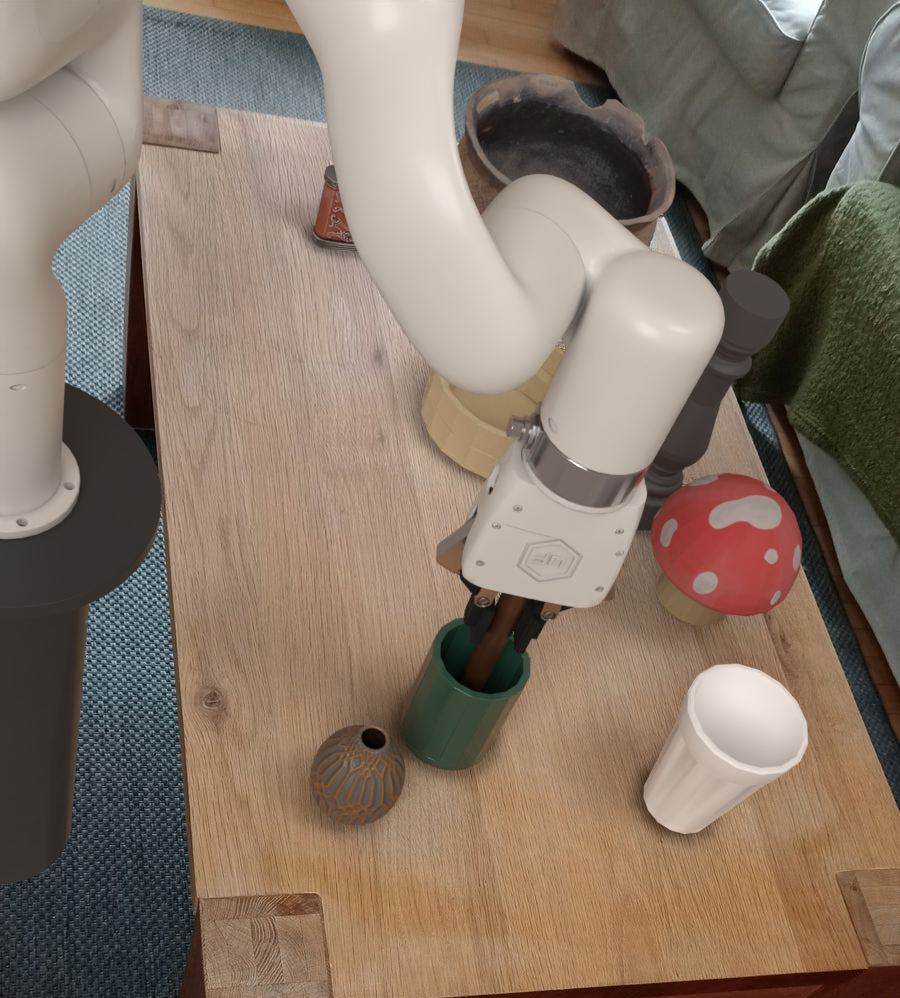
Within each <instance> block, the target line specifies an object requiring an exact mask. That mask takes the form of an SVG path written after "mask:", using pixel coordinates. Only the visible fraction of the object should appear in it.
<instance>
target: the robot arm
mask: <svg viewBox="0 0 900 998" xmlns="http://www.w3.org/2000/svg"><path fill="white" fill-rule="evenodd" d="M284 2H285V3H286V5H287V7H288V9H289V10H290V13H291V14H292V16H293V17H294V19H295V21H296V23H297V24H298V27H299V28H300V30H301V32H302V34H303V35H304V37H305V39H306V41H307V43H308V45H309V47H310V48H311V51H312V52H313V54H314V56H315V59H316V61H317V64H318V67H319V70H320V73H321V78H322V85H323V94H324V96H323V97H324V109H325V119H326V128H327V129H326V130H327V135H328V140H329V146H330V147H329V148H330V152H331V156H332V161H333V165H334V167H335V172H336V177H337V182H338V187H339V192H340V197H341V201H342V205H343V209H344V214H345V218H346V221H347V224H348V227H349V230H350V233H351V237H352V239H353V242H354V244H355V246H356V249H357V251H358V252H357V254H358V255H359V258H360V260H361V262H362V264H363V266H364V268H365V271H366V272H367V274H368V275H369V278H370V279H371V281H372V282H373V284H374V286H375V287H376V289H377V290H378V292H379V294H380V296H381V297H382V299H383V301H384V302H385V304H386V306H387V307H388V309H389V311H390V313H391V314H392V316H393V317H394V319H395V321H396V323H397V324H398V325H399V327H400V329H401V331H402V332H403V334H404V335H405V337H406V338H407V340H408V341H409V343H410V344H411V345H412V347H413V348H414V349H415V351H416V352H417V353H418V354H419V355H420V357H421V358H422V359H423V361H424V362H425V363H426V364H427V365H428V366H429V367H430V368H431V370H432V369H433V370H434V371H435V372H436V373H437V374H439V375H440V376H441V377H442V378H443V379H445V380H446V381H448V382H449V383H450V384H452V385H454V386H455V387H457V388H460V389H462V390H464V391H466V392H470V393H474V394H478V395H498V394H503V393H507V392H510V391H512V390H514V389H516V388H518V387H520V386H522V385H523V384H524V383H526V382H527V381H528V380H529V379H530V378H532V377H533V376H534V375H535V374H536V373H537V371H538V370H539V369H540V368H541V366H542V365H543V364H544V362H545V361H546V360H547V358H548V357H549V356H550V354H551V353H552V352H553V350H554V349H555V347H556V346H558V344H559V343H560V342H561V341H562V342H563V345H564V350H563V351H564V354H563V356H562V359H561V361H560V363H559V366H558V368H557V370H556V372H555V375H554V377H553V379H552V381H551V384H550V386H549V388H548V390H547V393H546V395H545V397H544V399H543V402H540V401H539V403H538V405H537V407H536V409H535V412H533V413H532V414H531V415H530V416H525V415H524V416H523V418H522V417H518V416H514V415H511V417H510V419H509V422H508V426H507V431H506V436H507V437H509V438H513V439H515V440H514V441H513V442H512V443H511V444H510V446H509V447H508V448H507V449H506V450H505V452H504V453H503V454H502V456H501V457H500V459H499V460H498V462H497V463H496V464H495V466H494V467H493V469H492V471H491V472H490V474H489V475H488V477H487V479H486V478H485V481H484V482H483V484H482V486H481V487H480V489H479V491H478V493H477V495H476V497H475V499H474V500H473V502H472V505H471V506H470V509H469V510H468V513H467V516H466V519H465V521H464V524H463V525H461V526H460V527H459V528H457V529H456V530H455V531H453V532H451V534H449V535H448V536H446V537H445V538H444V539H443V540H441V541H440V542H438V543H437V545H436V554H435V562H436V563H437V565H440V566H441V567H443V568H444V569H446V570H447V571H449V572H450V573H452V574H454V575H458V576H459V579H460V581H461V582H462V584H463V585H464V586H465V587H466V589H467V590H468V591H469V592H470V594H471V595H470V596H469V599H468V601H467V603H466V604H465V605H466V606H465V608H464V613H463V618H464V625H467V626H470V644H475V645H477V644H478V643H481V641H482V639H483V637H484V635H485V633H486V631H487V629H488V626H489V624H490V622H491V620H492V618H493V616H494V614H495V605H496V597H497V595H498V593H507V594H511V595H516V596H520V597H525V598H530V601H529V603H528V605H527V607H526V609H525V610H524V612H523V614H522V616H521V618H520V620H519V622H518V624H517V626H516V628H515V629H514V631H513V634H514V651H516V653H520V654H524V652H525V650H526V651H527V648H528V646H529V645H530V643H531V641H532V640H538V638H539V637H540V634H541V632H542V631H543V630H544V627H545V626H546V624H547V622H552V621H555V620H556V619H557V618H558V616H559V614H560V613H561V612H565V611H567V610H570V609H573V608H577V609H578V608H579V609H589V608H593V607H597V606H599V605H600V604H601V603H602V602H606V601H612V600H614V599H615V598H616V597H617V589H616V580H617V577H618V575H619V573H620V572H621V569H622V567H623V564H624V563H625V560H626V558H627V555H628V552H629V551H630V548H631V546H632V543H633V540H634V538H635V535H636V533H637V531H638V530H637V528H638V525H639V522H640V519H641V516H642V513H643V509H644V506H645V501H646V497H647V489H646V485H645V479H644V476H645V474H646V472H647V471H648V469H649V467H650V465H651V464H652V462H653V460H654V458H655V456H656V455H657V453H658V451H659V449H660V447H661V446H662V444H663V442H664V440H665V439H666V437H667V435H668V433H669V431H670V430H671V428H672V426H673V424H674V422H675V421H676V419H677V417H678V415H679V413H680V412H681V410H682V408H683V406H684V405H685V403H686V401H687V399H688V398H689V396H690V394H691V392H692V391H693V389H694V387H695V385H696V384H697V382H698V380H699V378H700V377H701V375H702V373H703V371H704V369H705V368H706V366H707V364H708V362H709V361H710V359H711V357H712V355H713V354H714V352H715V350H716V348H717V346H718V344H719V342H720V339H721V337H722V334H723V329H724V323H725V315H724V308H723V304H722V301H721V298H720V296H719V294H718V291H717V289H716V288H715V287H714V285H713V284H712V283H711V281H710V280H709V279H708V278H707V277H706V276H705V275H704V274H703V273H702V272H701V271H699V270H698V269H697V268H696V267H694V266H693V265H691V264H690V263H688V262H686V261H684V260H682V259H680V258H678V257H675V256H673V255H670V254H666V253H663V252H658V251H655V250H653V249H652V248H650V246H649V247H648V246H647V245H645V244H644V243H643V242H642V241H640V240H639V239H638V238H637V237H636V236H634V235H633V234H632V233H631V232H630V231H629V230H627V229H626V228H625V227H624V226H623V225H622V224H621V223H619V222H618V221H617V220H616V219H615V218H614V217H613V216H612V215H610V214H609V213H608V212H607V211H606V210H605V209H604V208H603V207H602V206H600V205H599V204H598V203H597V202H596V201H595V200H594V199H592V198H591V197H590V196H589V195H588V194H586V193H585V192H583V191H582V190H581V189H579V188H578V187H576V186H575V185H573V184H571V183H569V182H567V181H565V180H563V179H561V178H558V177H555V176H552V175H547V174H533V175H527V176H524V177H521V178H519V179H517V180H515V181H513V182H512V183H510V184H509V185H508V186H506V187H505V188H504V189H503V190H502V191H501V192H500V193H499V194H498V195H497V196H496V197H495V198H494V199H493V201H492V202H491V203H490V204H489V206H488V207H487V208H486V209H485V210H484V212H483V213H482V214H481V215H480V213H479V211H478V209H477V207H476V204H475V202H474V200H473V198H472V195H471V192H470V189H469V186H468V184H467V181H466V178H465V175H464V171H463V167H462V164H461V160H460V156H459V151H458V139H457V134H456V124H455V112H454V110H455V109H454V97H455V96H454V94H455V93H454V91H455V90H454V87H455V78H456V77H455V76H456V67H457V61H458V54H459V47H460V41H461V35H462V29H463V22H464V13H465V5H466V0H284ZM144 99H145V98H144V2H143V0H0V539H16V538H24V537H29V536H33V535H37V534H40V533H42V532H44V531H47V530H49V529H51V528H53V527H54V526H56V525H57V524H59V523H60V522H62V521H63V520H64V519H65V518H66V517H67V516H68V515H69V514H70V512H71V511H72V509H73V508H74V506H75V504H76V502H77V499H78V496H79V491H80V471H79V467H78V464H77V462H76V459H75V457H74V456H73V454H72V452H71V451H70V449H69V448H68V447H67V446H66V445H65V444H64V443H63V442H62V432H63V410H64V388H65V382H66V368H67V367H66V364H67V363H66V362H67V345H68V344H67V343H68V303H67V298H66V294H65V290H64V288H63V286H62V283H61V282H60V281H59V279H58V277H57V276H56V275H55V273H54V271H53V261H54V257H55V255H56V253H57V251H58V250H59V248H60V246H61V245H62V244H63V243H64V242H65V241H66V239H68V238H69V237H70V236H71V235H72V234H73V233H74V232H76V231H77V230H78V229H79V228H80V227H81V226H82V225H83V224H84V223H85V222H86V221H87V220H88V219H89V218H91V217H92V216H93V215H94V214H95V213H97V212H98V211H99V210H100V209H101V208H102V207H104V206H105V205H106V204H108V203H109V202H110V201H111V200H112V199H113V198H114V197H115V196H116V195H117V194H118V193H120V191H122V190H123V189H124V187H125V186H126V185H127V184H128V183H129V181H130V180H132V178H133V176H134V174H135V172H136V170H137V168H138V165H139V162H140V159H141V154H142V150H143V141H144V124H145V123H144V119H145V117H144V116H145V115H144V112H145V110H144Z"/></svg>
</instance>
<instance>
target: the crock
mask: <svg viewBox="0 0 900 998" xmlns="http://www.w3.org/2000/svg"><path fill="white" fill-rule="evenodd" d="M474 647H475V644H470V626H467V625H464V617H456V618H454V619H452V620H451V621H449V622H448V623H447V622H446V623H445V624H444V625H442V626H441V627H440V628H439V630H438V631H437V633H436V635H435V637H434V638H433V640H432V643H431V645H430V646H429V649H428V652H427V653H426V655H425V658H424V661H423V662H422V665H421V667H420V670H419V671H418V673H417V676H416V678H415V681H414V683H413V685H412V687H411V689H410V692H409V693H408V696H407V698H406V701H405V703H404V706H403V708H402V711H401V714H400V720H399V724H400V725H399V728H400V732H401V735H402V738H403V740H404V742H405V744H406V746H407V747H408V748H409V750H410V751H411V752H412V753H413V754H414V755H415V756H416V757H417V758H418V759H420V760H421V761H422V762H424V763H426V764H428V765H429V766H432V767H434V768H437V769H440V770H448V771H461V770H465V769H469V768H471V767H473V766H475V765H477V764H478V763H480V762H481V761H482V760H483V759H484V758H485V756H486V755H487V754H488V752H489V751H490V748H492V747H491V746H492V745H493V744H494V742H495V740H496V738H497V736H498V735H499V733H500V731H501V729H502V728H503V725H504V724H505V723H506V721H507V719H508V717H509V715H510V713H511V712H512V710H513V708H514V707H515V705H516V703H517V701H518V699H519V698H520V696H521V695H522V692H523V691H524V689H525V687H526V685H527V683H528V682H529V679H530V677H531V676H532V675H531V657H530V655H529V653H528V651H527V649H526V650H525V652H524V654H520V653H516V651H514V632H513V633H512V635H511V637H510V639H509V641H508V643H507V645H506V647H505V648H504V650H503V652H502V654H501V656H500V658H499V660H498V662H497V664H496V666H495V667H494V669H493V671H492V673H491V675H490V677H489V679H488V681H487V683H486V685H485V686H484V688H483V690H482V692H476V691H472V690H471V689H469V688H467V687H465V686H463V685H461V684H460V683H458V680H459V678H460V676H461V674H462V672H463V670H464V668H465V666H466V664H467V662H468V660H469V658H470V656H471V654H472V652H473V650H474Z"/></svg>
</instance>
